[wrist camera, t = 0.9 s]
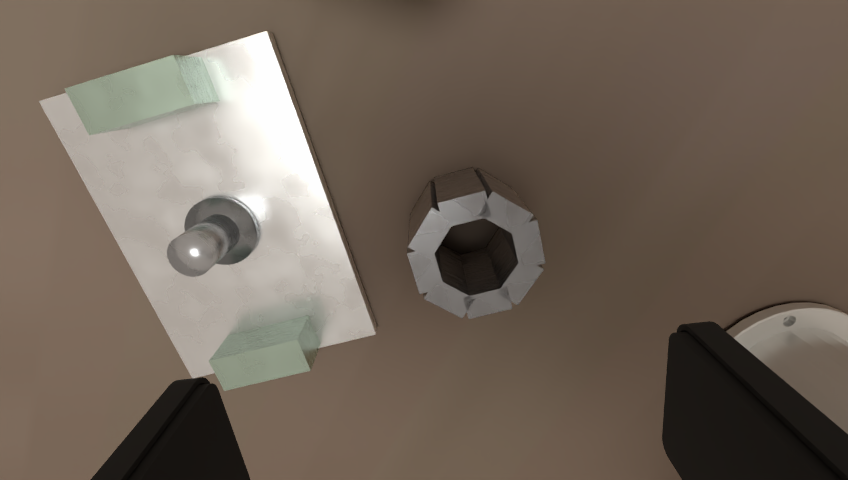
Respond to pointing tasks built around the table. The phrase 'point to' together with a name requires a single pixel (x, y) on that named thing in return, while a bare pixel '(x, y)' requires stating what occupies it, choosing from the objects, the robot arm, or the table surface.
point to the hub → (479, 270)
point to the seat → (219, 208)
